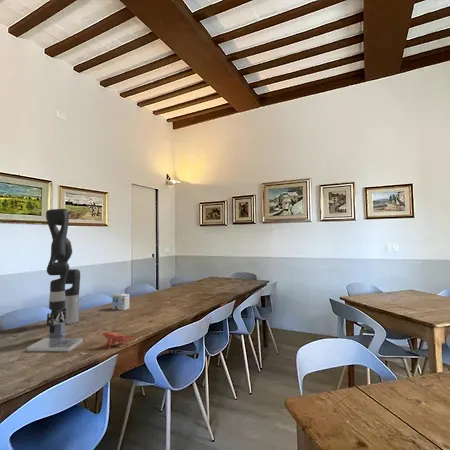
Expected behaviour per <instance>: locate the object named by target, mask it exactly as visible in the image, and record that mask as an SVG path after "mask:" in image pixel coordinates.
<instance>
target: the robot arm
mask: <svg viewBox="0 0 450 450" xmlns="http://www.w3.org/2000/svg"><path fill="white" fill-rule="evenodd" d="M45 218H46V222H47V225H48V228H49V231H50V235H51V237H52V238H51V239H52V242H51V246H50V258H49V261H48V265H47V267H46V273H47V275H48V276H59V277H60V278H57V279H53V280H51V281H50V286H49V300H48V303H49V304H48V309H49V310H51V312H49V313H47V315H46V326H49V334H50V333H54V331H55V322H65V325H66V324H67V325H71V324H75V323H78V322H79V319H80V318H79V317H80V286H81V270H80V269H75V268H73V269H71V268H70V264H69V262H68V261H69V260H70V259H71V257H72V255H73V247H72V243H71V241H70V239H69V238H68V237H67V235H68V228H69V221H70V220H69V219H70V217H69V212H68V210H67V209H66V208H55V209H47V210H46V212H45ZM58 226H60V229H59V228H58ZM66 285H71V287H69V288H67V289H66Z"/></svg>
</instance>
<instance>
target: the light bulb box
mask: <svg viewBox="0 0 450 450" xmlns="http://www.w3.org/2000/svg"><path fill="white" fill-rule="evenodd" d="M111 307H112V308H111V309H112V310H117V309H118V311H125V309H126V310H127V309H130V293H114V294H112V305H111Z"/></svg>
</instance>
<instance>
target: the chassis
mask: <svg viewBox="0 0 450 450" xmlns="http://www.w3.org/2000/svg"><path fill="white" fill-rule="evenodd" d="M83 341H84V338H83V337H65V338H49V337H43V338H42V339H40V340H38V341H36V342H34V343H32V344H30V345H28V346H27V347H26V352H61V353H62V352H68V353H69V352H71V351H72V350H73V349H75V348H76V347H78V346H79V345H80V344H82V343H83Z"/></svg>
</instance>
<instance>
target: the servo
mask: <svg viewBox="0 0 450 450" xmlns="http://www.w3.org/2000/svg"><path fill="white" fill-rule="evenodd" d="M67 334H68V332H66V324H65V322H59V321H56V322H55V331H54V333H50V332H49V333H48V334H47V337H48V338H66V335H67Z"/></svg>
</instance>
